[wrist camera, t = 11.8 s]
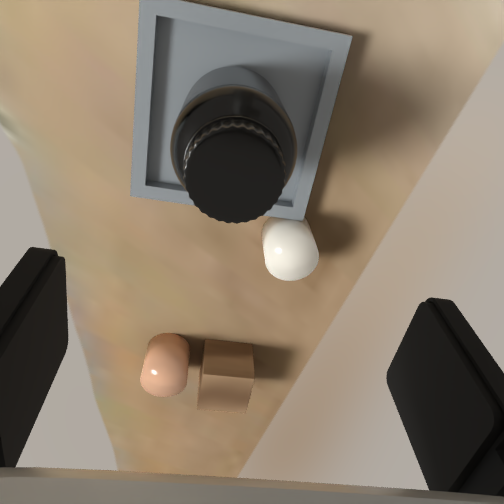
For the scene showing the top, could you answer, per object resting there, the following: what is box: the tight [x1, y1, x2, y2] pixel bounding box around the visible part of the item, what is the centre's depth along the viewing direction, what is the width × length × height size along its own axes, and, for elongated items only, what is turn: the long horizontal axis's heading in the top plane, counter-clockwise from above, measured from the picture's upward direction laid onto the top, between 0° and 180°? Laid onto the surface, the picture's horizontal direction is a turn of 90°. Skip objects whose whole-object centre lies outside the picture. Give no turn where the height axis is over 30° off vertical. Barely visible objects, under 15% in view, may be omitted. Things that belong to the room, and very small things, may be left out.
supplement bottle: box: [170, 66, 297, 223], centre depth 25 cm, size 7×7×12 cm
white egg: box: [262, 217, 319, 281], centre depth 34 cm, size 4×4×4 cm
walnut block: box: [197, 339, 255, 414], centre depth 41 cm, size 4×4×4 cm
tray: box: [130, 0, 353, 221], centre depth 30 cm, size 13×13×2 cm
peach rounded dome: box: [140, 333, 190, 397], centre depth 40 cm, size 4×4×4 cm
